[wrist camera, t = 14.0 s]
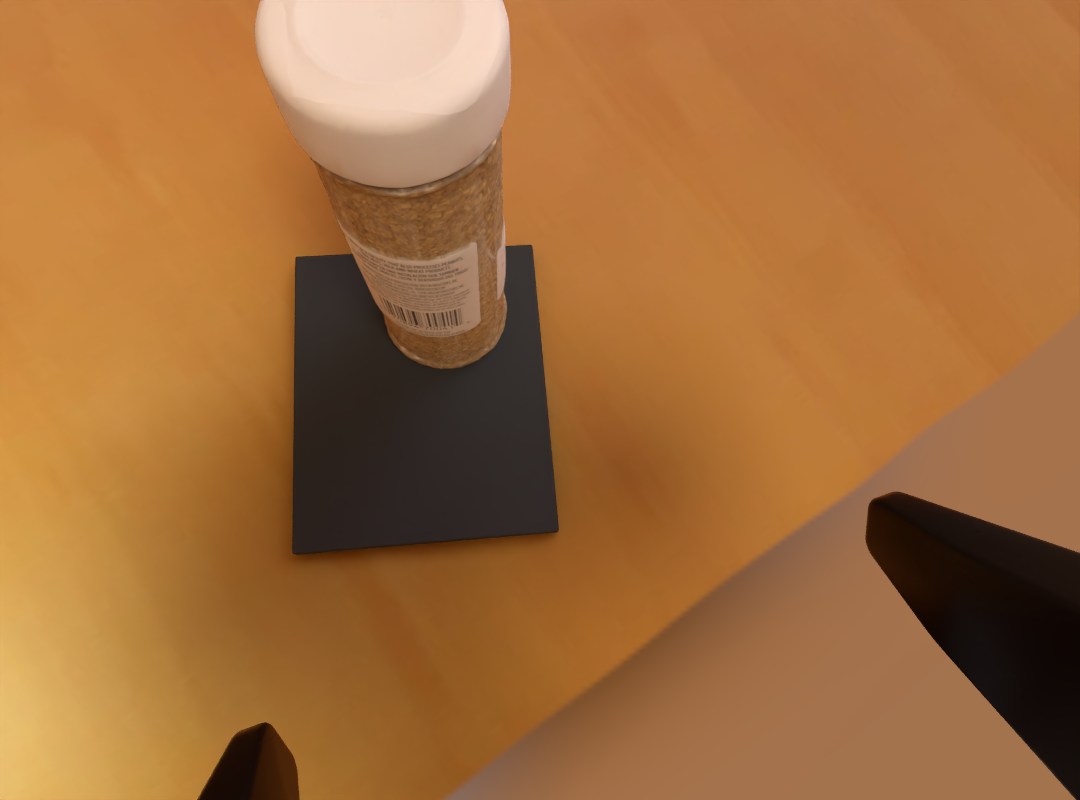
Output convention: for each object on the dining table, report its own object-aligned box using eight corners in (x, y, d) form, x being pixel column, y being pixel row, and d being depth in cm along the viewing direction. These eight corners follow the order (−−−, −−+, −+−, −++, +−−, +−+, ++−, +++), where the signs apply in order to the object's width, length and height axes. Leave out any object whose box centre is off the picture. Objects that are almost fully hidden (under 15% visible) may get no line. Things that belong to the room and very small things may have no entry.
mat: (557, 532, 23) (559, 531, 22) (296, 554, 22) (292, 554, 22) (531, 250, 26) (532, 244, 25) (299, 262, 25) (295, 256, 25)
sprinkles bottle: (527, 291, 25) (555, -26, 12) (471, 394, 24) (433, 167, 11) (420, 240, 25) (334, -123, 12) (360, 339, 24) (192, 54, 11)
